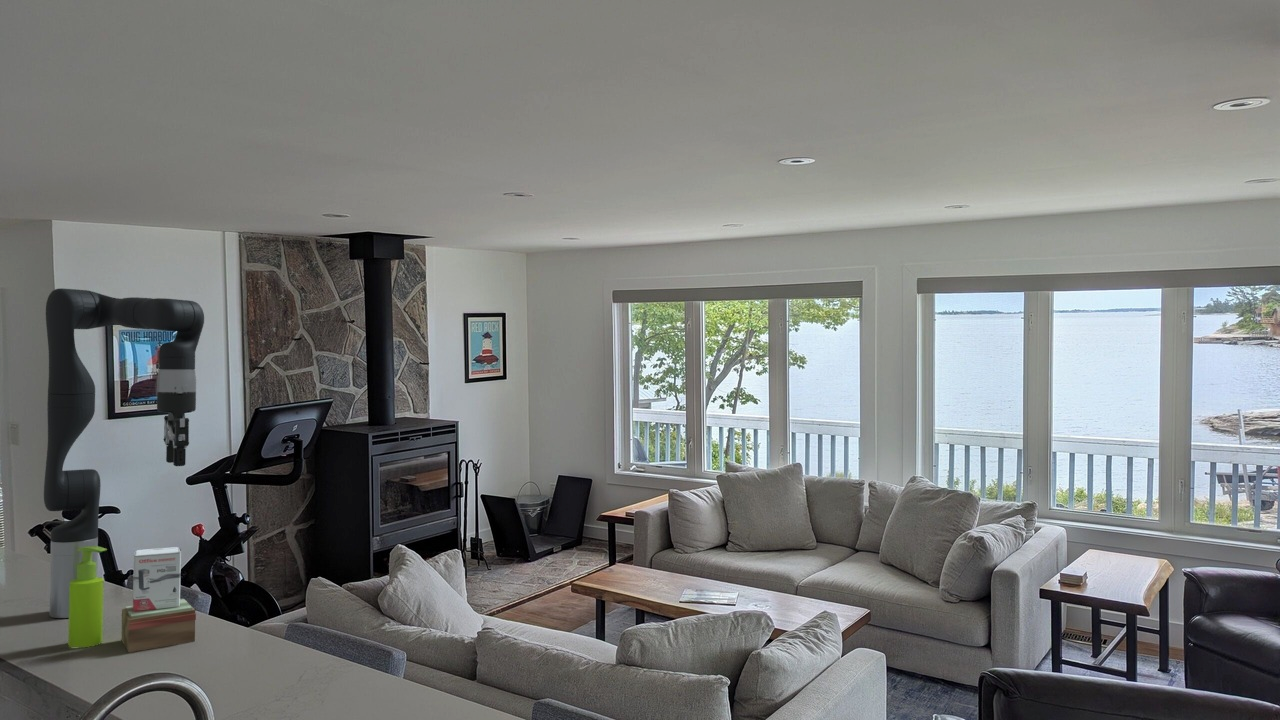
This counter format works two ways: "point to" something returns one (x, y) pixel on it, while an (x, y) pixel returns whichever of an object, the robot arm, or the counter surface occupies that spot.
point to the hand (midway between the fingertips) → (175, 464)
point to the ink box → (156, 578)
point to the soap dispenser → (86, 602)
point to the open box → (158, 627)
